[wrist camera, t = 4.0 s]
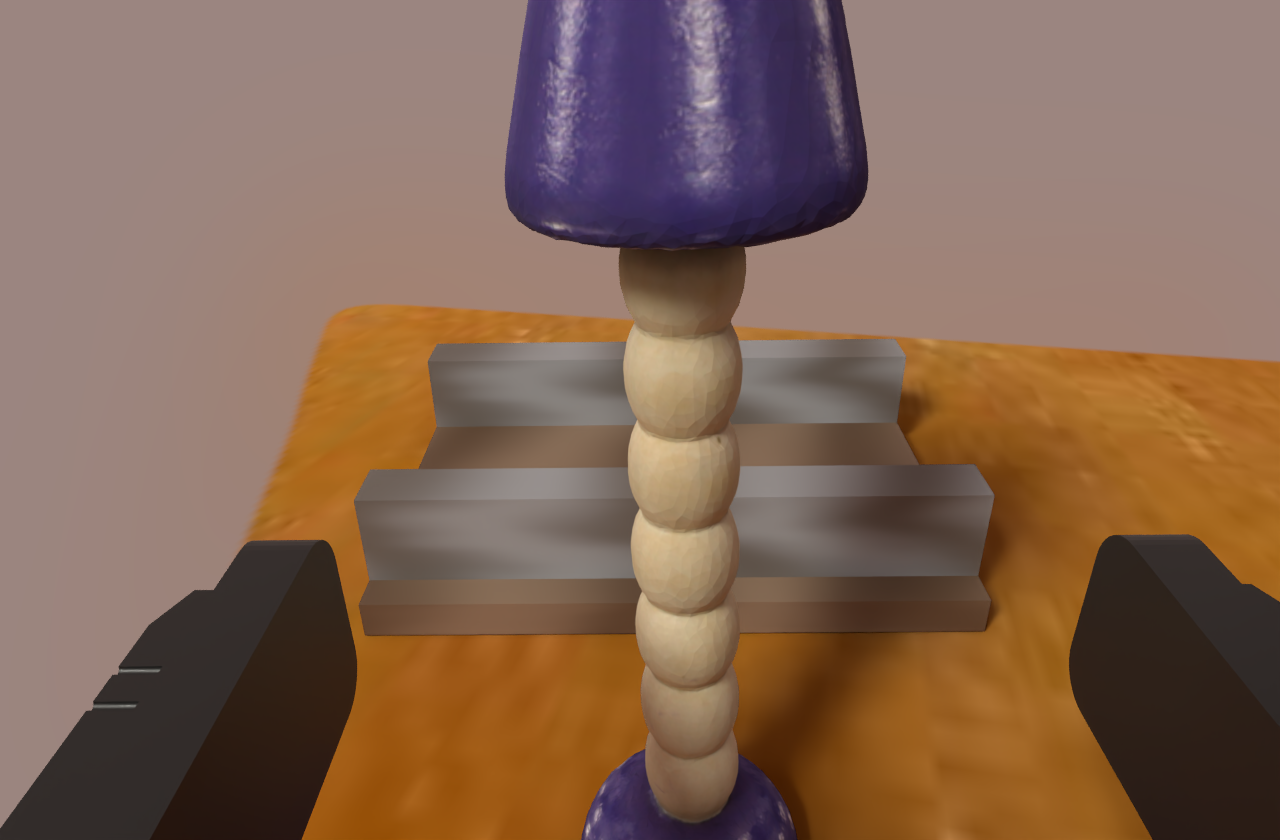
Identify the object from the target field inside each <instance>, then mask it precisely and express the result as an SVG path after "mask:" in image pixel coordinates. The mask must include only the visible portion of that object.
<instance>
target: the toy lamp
mask: <svg viewBox="0 0 1280 840" xmlns="http://www.w3.org/2000/svg"><path fill="white" fill-rule="evenodd" d="M867 183H868V162H867V151H866V142H865V136H864V131H863V125H862V118H861V112H860V106H859V100H858V93H857V87H856V80H855V74H854V67H853V61H852V55H851V49H850V44H849V39H848V33H847V28H846V22H845V15H844V10H843V6H842V0H528V5H527V12H526V19H525V25H524V32H523V38H522V45H521V51H520V58H519V65H518V73H517V80H516V87H515V94H514V101H513V109H512V116H511V123H510V130H509V138H508V146H507V153H506V165H505V191H506V198H507V202H508V207H509V209H510V211H511V212H512V213H513V214H514V216H515V217H516V218H517V220H518V221H519V222H521V223H522V224H524V225H525V226H526V227H528V228H529V229H531V230H533V231H536V232H538V233H541V234H544V235H546V236H549V237H551V238H553V239H555V240H568V241H573V242H579V243H581V244H588V245H594V246H600V247H612V248H620V254H619V276H620V286H621V289H622V293H623V296H624V300H625V303H626V306H627V308H628V310H629V311H630V313H631V315H632V317H633V319H634V321H635V323H634V325H633V327H632V329H631V331H630V334H629V337H628V340H627V343H626V349H625V355H624V361H623V373H624V384H625V390H626V394H627V398H628V401H629V403H630V406H631V409H632V411H633V413H634V415H635V416H636V418H637V421H636V424H635V426H634V428H633V431H632V434H631V438H630V442H629V448H628V476H629V483H630V487H631V490H632V494H633V496H634V498H635V500H636V502H637V504H638V506H639V508H640V509H639V511H638V513H637V515H636V517H635V521H634V524H633V528H632V536H631V554H632V563H633V569H634V574H635V577H636V579H637V581H638V584H639V586H640V588H641V590H642V593H641V595H640V598H639V601H638V604H637V610H636V621H635V625H636V637H637V641H638V646H639V650H640V653H641V655H642V658H643V660H644V661H645V663H646V666H645V669H644V673H643V676H642V683H641V703H642V709H643V714H644V718H645V722H646V725H647V727H648V729H649V731H650V732H649V734H648V737H647V742H646V749H644V750H642V751H640V752H638V753H636V754H634V755H633V756H631V757H630V758H628V759H627V760H626V761H625V762H624V763H623V764H622V765H620V766H619V767H618V768H616V769H615V770H614V771H613V772H612V773H611V774H610V775H609V776H608V778H607V779H606V781H605V782H604V783H603V785H602V787H601V788H600V790H599V791H598V793H597V795H596V797H595V799H594V801H593V803H592V805H591V808H590V810H589V812H588V814H587V818H586V822H585V826H584V830H583V833H582V839H581V840H797V836H796V830H795V827H794V824H793V821H792V818H791V815H790V811H789V809H788V808H787V806H786V804H785V802H784V800H783V798H782V796H781V795H780V793H779V791H778V790H777V789H776V787H775V786H774V784H773V783H772V782H771V780H770V779H769V778H768V777H767V776H766V775H765V774H764V773H763V771H762V770H760V769H759V768H758V767H757V766H755V765H754V764H753V763H752V762H750V761H749V760H747V759H746V758H744V757H743V756H742V755H740V754H738V749H737V742H736V739H735V736H734V733H733V730H732V729H733V726H734V723H735V720H736V717H737V713H738V706H739V687H738V682H737V677H736V673H735V670H734V668H733V665H732V661H733V659H734V657H735V654H736V651H737V647H738V642H739V636H740V617H739V611H738V606H737V602H736V600H735V597H734V595H733V592H732V590H731V587H732V585H733V583H734V581H735V577H736V574H737V571H738V566H739V550H740V543H739V536H738V531H737V527H736V523H735V520H734V518H733V515H732V512H731V510H730V509H729V507H730V505H731V503H732V501H733V499H734V497H735V494H736V491H737V488H738V483H739V476H740V452H739V445H738V440H737V436H736V434H735V431H734V428H733V426H732V424H731V422H730V421H729V419H730V417H731V415H732V414H733V412H734V410H735V407H736V404H737V401H738V398H739V395H740V392H741V384H742V372H743V363H742V354H741V349H740V345H739V340H738V337H737V335H736V332H735V330H734V328H733V326H732V324H731V318H732V317H733V315H734V313H735V311H736V309H737V307H738V306H739V303H740V299H741V296H742V293H743V289H744V283H745V275H746V254H745V248H744V247H751V246H757V245H763V244H767V243H772V242H776V241H780V240H785V239H790V238H795V237H800V236H804V235H809V234H811V233H814V232H817V231H819V230H822V229H824V228H828V227H831V226H834V225H835V224H837V223H839V222H842V221H844V220H846V219H847V218H849V217H850V216H851V215H852V214H853V213H854V212H855V211H856V209H857V208H858V207H859V206H860V204H861V203H862V200H863V198H864V197H865V193H866V190H867Z"/></svg>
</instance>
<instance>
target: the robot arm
mask: <svg viewBox="0 0 1280 840" xmlns="http://www.w3.org/2000/svg"><path fill="white" fill-rule="evenodd" d="M1069 671H1070V680H1071V685H1072V690H1073V694H1074V697H1075V700H1076V703H1077V705H1078V707H1079V709H1080V711H1081V713H1082V715H1083V717H1084V719H1085V720H1086V722H1087V724H1088V726H1089V727H1090V729H1091V731H1092V733H1093V735H1094V736H1095V738H1096V740H1097V742H1098V743H1099V745H1100V747H1101V749H1102V750H1103V752H1104V754H1105V756H1106V758H1107V759H1108V761H1109V763H1110V765H1111V766H1112V768H1113V770H1114V772H1115V773H1116V775H1117V777H1118V779H1119V780H1120V782H1121V784H1122V786H1123V788H1124V789H1125V791H1126V793H1127V795H1128V796H1129V798H1130V800H1131V802H1132V803H1133V805H1134V807H1135V809H1136V811H1137V812H1138V814H1139V816H1140V818H1141V819H1142V821H1143V823H1144V825H1145V826H1146V828H1147V830H1148V832H1149V834H1150V835H1151V837H1152V839H1153V840H1280V602H1279V601H1277V600H1276V599H1274V598H1272V597H1271V596H1269V595H1268V594H1266V593H1264V592H1263V591H1261V590H1260V589H1258V588H1257V587H1255V586H1253V585H1252V584H1241V583H1240V582H1239V581H1238V580H1237V578H1236V577H1235V576H1234V575H1233V574H1232V573H1231V572H1230V571H1229V570H1228V569H1227V568H1226V567H1225V566H1224V564H1223V563H1222V562H1221V561H1220V560H1219V559H1218V558H1217V557H1216V556H1215V555H1214V554H1213V553H1212V552H1211V551H1210V549H1209V548H1208V547H1207V546H1206V545H1205V544H1204V543H1203V542H1202V541H1201V540H1199V539H1198V538H1196V537H1194V536H1191V535H1113V536H1110V537H1108V538H1107V539H1105V541H1104V542H1103V543H1102V545H1101V546H1100V548H1099V551H1098V553H1097V556H1096V560H1095V563H1094V567H1093V571H1092V574H1091V578H1090V581H1089V585H1088V588H1087V592H1086V595H1085V599H1084V602H1083V606H1082V609H1081V613H1080V616H1079V620H1078V623H1077V627H1076V630H1075V634H1074V637H1073V641H1072V645H1071V649H1070V656H1069ZM356 681H357V657H356V650H355V645H354V640H353V636H352V631H351V627H350V622H349V618H348V613H347V609H346V604H345V600H344V595H343V591H342V586H341V582H340V577H339V573H338V568H337V564H336V559H335V556H334V553H333V550H332V548H331V546H330V545H329V543H328V542H326V541H324V540H271V541H250V542H248V543H247V544H245V545H244V546H243V548H242V549H241V550H240V552H239V553H238V554H237V556H236V557H235V559H234V560H233V562H232V563H231V565H230V566H229V568H228V569H227V571H226V572H225V574H224V575H223V577H222V578H221V580H220V581H219V583H218V584H217V586H216V588H215V589H214V590H194V591H193V592H192V593H190V594H189V595H188V596H186V597H185V598H184V599H183V600H181V601H180V602H179V603H177V604H176V605H175V606H173V607H172V608H171V609H169V610H168V611H167V612H166V613H164V614H163V615H162V616H160V617H159V618H158V619H156V620H155V621H154V622H152V623H151V624H150V625H149V626H148V627H147V629H146V630H145V631H144V633H143V634H142V635H141V637H140V638H139V640H138V641H137V642H136V644H135V645H134V646H133V648H132V649H131V650H130V652H129V653H128V655H127V656H126V657H125V659H124V660H123V661H122V663H121V664H120V665H119V673H118V675H112V677H111V678H110V679H109V680H108V682H107V683H106V685H105V686H104V687H103V689H102V690H101V692H100V693H99V694H98V696H97V697H96V698H95V700H94V701H93V703H94V706H93V709H92V711H86V712H85V713H84V715H83V716H82V717H81V719H80V720H79V722H78V723H77V724H76V726H75V727H74V728H73V730H72V731H71V733H70V734H69V735H68V737H67V738H66V739H65V741H64V742H63V743H62V745H61V746H60V748H59V749H58V750H57V752H56V753H55V754H54V756H53V757H52V759H51V760H50V761H49V763H48V764H47V765H46V767H45V768H44V769H43V771H42V772H41V774H40V775H39V777H38V778H37V779H36V780H35V782H34V783H33V785H32V786H31V787H30V789H29V790H28V791H27V793H26V794H25V795H24V797H23V798H22V800H21V801H20V802H19V804H18V805H17V807H16V808H15V809H14V811H13V812H12V813H11V815H10V816H9V817H8V819H7V820H6V822H5V823H4V824H3V826H2V827H1V828H0V840H301V839H302V837H303V834H304V831H305V829H306V826H307V824H308V821H309V818H310V816H311V813H312V811H313V808H314V805H315V803H316V800H317V798H318V795H319V792H320V790H321V787H322V785H323V782H324V779H325V777H326V774H327V772H328V769H329V767H330V764H331V761H332V759H333V756H334V754H335V751H336V748H337V746H338V743H339V741H340V738H341V735H342V733H343V730H344V728H345V725H346V722H347V720H348V717H349V715H350V712H351V709H352V705H353V701H354V696H355V690H356Z"/></svg>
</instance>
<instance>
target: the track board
mask: <svg viewBox="0 0 1280 840" xmlns="http://www.w3.org/2000/svg"><path fill="white" fill-rule="evenodd" d="M626 343H627V342H564V343H471V344H437V345H436V347H435V349H434V351H433V353H432V355H431V356H430V358H429V360H428V366H429V374H430V381H431V388H432V395H433V402H434V410H435V417H436V424H437V428H436V430H435V432H434V435H433V437H432V439H431V442H430V444H429V446H428V448H427V451H426V453H425V455H424V457H423V460H422V462H421V464H420V467H419V469H392V470H370V471H369V473H368V475H367V477H366V479H365V481H364V483H363V485H362V486H361V488H360V490H359V492H358V494H357V496H356V498H355V500H354V504H355V509H356V514H357V519H358V524H359V529H360V534H361V539H362V544H363V549H364V554H365V559H366V564H367V570H368V575H369V580H370V581H369V583H368V585H367V587H366V590H365V592H364V594H363V596H362V599H361V601H360V603H359V609H360V613H361V618H362V623H363V628H364V633H365V635H476V634H626V633H636V625H635V621H636V610H637V604H638V601H639V598H640V595H641V593H642V590H641V588H640V586H639V584H638V581H637V579H636V577H635V574H634V569H633V563H632V554H631V536H632V528H633V524H634V521H635V517H636V515H637V513H638V511H639V509H640V508H639V506H638V504H637V502H636V500H635V498H634V496H633V494H632V490H631V487H630V483H629V476H628V448H629V442H630V438H631V434H632V431H633V428H634V426H635V424H636V421H637V418H636V416H635V415H634V413H633V411H632V409H631V406H630V403H629V401H628V398H627V394H626V390H625V384H624V373H623V361H624V355H625V349H626ZM739 345H740V349H741V354H742V363H743V372H742V384H741V392H740V395H739V398H738V401H737V404H736V407H735V410H734V412H733V414H732V415H731V417H730V419H729V421H730V422H731V424H732V426H733V428H734V431H735V434H736V436H737V440H738V445H739V452H740V476H739V483H738V488H737V491H736V494H735V497H734V499H733V501H732V503H731V505H730V507H729V509H730V510H731V512H732V515H733V518H734V520H735V523H736V527H737V531H738V536H739V543H740V550H739V566H738V571H737V574H736V577H735V581H734V583H733V585H732V587H731V590H732V592H733V595H734V597H735V600H736V602H737V606H738V611H739V617H740V633H775V632H925V631H985V627H986V622H987V618H988V613H989V609H990V604H991V599H990V597H989V595H988V593H987V592H986V590H985V588H984V586H983V584H982V582H981V580H980V578H979V576H978V574H979V569H980V564H981V559H982V554H983V550H984V545H985V540H986V535H987V530H988V525H989V521H990V516H991V511H992V506H993V501H994V496H995V495H994V493H993V492H992V490H991V489H990V487H989V485H988V484H987V482H986V481H985V479H984V478H983V476H982V475H981V473H980V471H979V470H978V468H977V467H976V465H975V464H948V465H919V463H918V461H917V459H916V458H915V456H914V454H913V452H912V450H911V448H910V446H909V444H908V442H907V441H906V439H905V437H904V435H903V433H902V431H901V429H900V427H899V425H898V424H897V418H898V411H899V404H900V397H901V389H902V382H903V375H904V368H905V361H906V356H905V354H904V352H903V351H902V349H901V348H900V346H899V345H898V343H897V341H896V340H895V339H843V340H750V341H739Z"/></svg>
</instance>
